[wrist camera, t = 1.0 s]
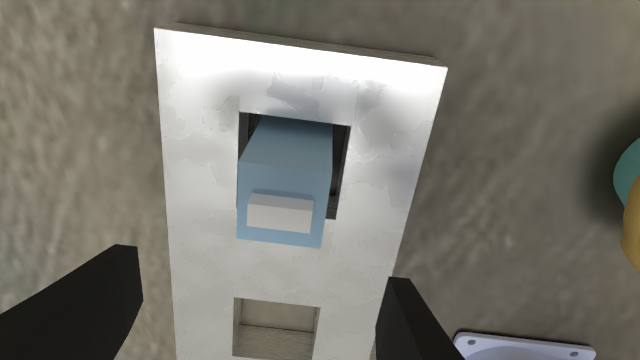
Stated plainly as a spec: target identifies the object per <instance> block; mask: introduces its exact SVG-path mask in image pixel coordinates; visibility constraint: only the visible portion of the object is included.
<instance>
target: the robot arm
mask: <svg viewBox="0 0 640 360" xmlns="http://www.w3.org/2000/svg"><path fill="white" fill-rule="evenodd" d="M142 302H143V293H142V284H141V276H140V268H139V259H138V251H137V247H136V246H127V245H119V244H115V245H113V246H111V247H110V248H108V249H106V250H105V251H103V252H102V253H100V254H98V255H97V256H95V257H94V258H92V259H91V260H89V261H88V262H86V263H84V264H83V265H81V266H80V267H78V268H77V269H75V270H74V271H72V272H70V273H69V274H67V275H66V276H64V277H62V278H61V279H59V280H58V281H56V282H54V283H53V284H51V285H50V286H48V287H46V288H45V289H43V290H42V291H40V292H38V293H36V294H35V295H33V296H31V297H30V298H28V299H26V300H24V301H23V302H21V303H19V304H17V305H16V306H14V307H12V308H11V309H9V310H7V311H5V312H4V313H2V314H0V360H113V359H114V358H115V356H116V354H117V353H118V351H119V349H120V348H121V346H122V344H123V343H124V341H125V339H126V337H127V336H128V334H129V332H130V330H131V327H132V325H133V323H134V321H135V319H136V316H137V314H138V312H139V309H140V307H141V305H142ZM375 337H376V359H377V360H593V359H594V358H595V356H596V352H595V351H594V349H593V348H592V347H589V346H581V345H572V344H563V343H555V342H546V341H537V340H529V339H520V338H512V337H503V336H494V335H486V334H477V333H468V332H460V333H458V334H457V335H456V336H455V339H454V341H453V342H452V341H451V339H450V338H449V337H448V335H447V334H446V332H445V331H444V330H443V328H442V327H441V325H440V324H439V323H438V321H437V320H436V318H435V317H434V315H433V314H432V312H431V311H430V309H429V308H428V306H427V305H426V303H425V302H424V300H423V298H422V297H421V295H420V294H419V292H418V291H417V289H416V288H415V286H414V284H413V283H412V282H411V280H410V279H407V278H398V277H390V276H388V280H387V284H386V288H385V292H384V295H383V299H382V303H381V307H380V310H379V314H378V318H377V322H376V326H375Z"/></svg>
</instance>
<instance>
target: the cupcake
mask: <svg viewBox="0 0 640 360" xmlns="http://www.w3.org/2000/svg"><path fill="white" fill-rule="evenodd" d="M613 184H614V188H615V191H616V193H617V195H618V196H619V198H620V199H621V201H622V203H623V205H624V207H625V210H624V214H623V225H624V233H623V236H622V238H621V247H622V249H623V251H624V253H625V255H626V257H627V258H628V260H629V261H630V263H631V264H632V265H633V266H634V267H635V269H636V270H637V271H638V272H639V273H640V138H638V139H637V140H636V141H634V142H633V143H632V144H631V145H630V146H629V147H628V148H627V149H626V150H625V151H624V153H623V154H622V155H621V157H620V158H619V160H618V162H617V164H616V167H615V170H614V174H613Z"/></svg>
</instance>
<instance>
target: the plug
mask: <svg viewBox="0 0 640 360" xmlns="http://www.w3.org/2000/svg"><path fill="white" fill-rule="evenodd" d="M332 144H333V124H332V123H325V122H317V121H309V120H301V119H294V118H286V117H278V116H271V115H263V116H262V118H261V120H260V122H259V123H258V125H257V127H256V129H255V131H254V133H253V135H252V137H251V139H250V141H249V142H248V144H247V146H246V148H245V150H244V152H243V154H242V156H241V158H240V159H239V161H238V190H237V224H236V239H244V240H252V241H261V242H269V243H277V244H286V245H294V246H302V247H311V248H319V249H321V243H322V236H323V230H324V223H325V217H326V210H327V204H328V198H329V191H330V185H331V178H332Z"/></svg>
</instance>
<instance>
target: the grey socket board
mask: <svg viewBox="0 0 640 360" xmlns="http://www.w3.org/2000/svg"><path fill="white" fill-rule="evenodd" d="M154 37H155V51H156V66H157V80H158V94H159V109H160V123H161V138H162V152H163V166H164V181H165V195H166V210H167V224H168V238H169V253H170V267H171V281H172V296H173V310H174V325H175V339H176V353H177V360H369V357H370V353H371V350H372V346H373V342H374V339H375V326H376V322H377V318H378V314H379V310H380V307H381V303H382V299H383V295H384V292H385V288H386V284H387V280H388V276H390V277H391V276H392V272H393V269H394V265H395V261H396V258H397V254H398V250H399V247H400V243H401V239H402V235H403V232H404V228H405V224H406V221H407V217H408V213H409V210H410V206H411V202H412V199H413V195H414V191H415V188H416V184H417V180H418V176H419V173H420V169H421V165H422V162H423V158H424V154H425V151H426V147H427V143H428V140H429V136H430V132H431V129H432V125H433V121H434V117H435V114H436V110H437V106H438V103H439V99H440V95H441V92H442V88H443V84H444V81H445V77H446V73H447V70H448V67H446V66H445V65H444V64H442V63H441V62H440V61H438V60H437V59H436V58H435V57H430V56H422V55H415V54H407V53H400V52H393V51H385V50H378V49H371V48H363V47H356V46H348V45H341V44H334V43H326V42H319V41H311V40H304V39H297V38H289V37H282V36H275V35H267V34H260V33H252V32H245V31H238V30H230V29H223V28H215V27H208V26H201V25H193V24H186V23H179V22H175V23H172V24H168V25H164V26H160V27H157V28H154ZM249 113H255V114H263V115H271V116H278V117H286V118H294V119H301V120H309V121H317V122H325V123H332V124H340V125H347V128H346V135H345V141H344V147H343V153H342V159H341V165H340V171H339V177H338V183H337V189H336V195H329V198H328V204H327V210H326V217H325V223H324V230H323V236H322V243H321V249H319V248H311V247H302V246H294V245H286V244H277V243H269V242H261V241H252V240H244V239H236V224H237V190H238V161H239V159H240V158H241V156H242V154H243V152H244V150H245V148H246V146H247V144H248V132H249ZM242 298H245V299H254V300H263V301H271V302H280V303H288V304H297V305H305V306H314V307H317V311H316V317H315V323H314V329H313V333H309V332H300V331H291V330H283V329H274V328H265V327H256V326H248V325H241V303H242Z"/></svg>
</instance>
